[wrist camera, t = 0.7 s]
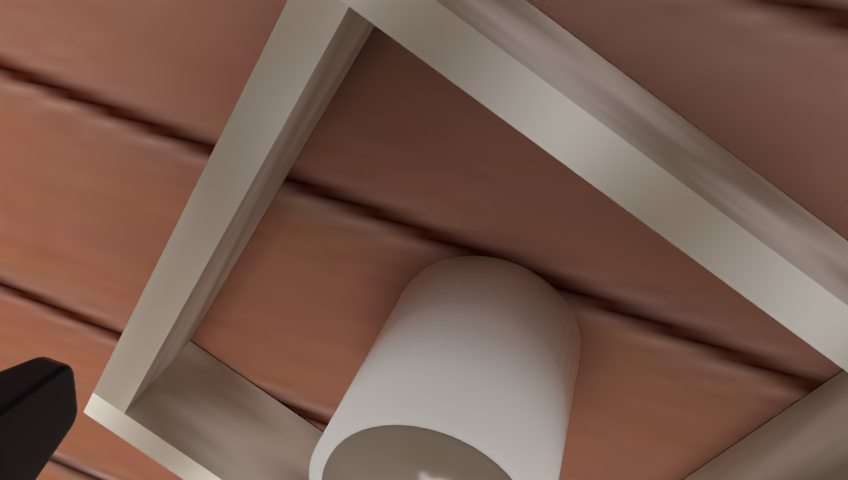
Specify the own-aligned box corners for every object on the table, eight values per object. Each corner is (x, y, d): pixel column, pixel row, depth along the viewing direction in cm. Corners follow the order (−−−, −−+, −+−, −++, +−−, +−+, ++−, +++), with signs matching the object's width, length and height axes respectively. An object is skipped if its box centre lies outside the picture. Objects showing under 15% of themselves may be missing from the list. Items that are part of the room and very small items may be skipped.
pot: (622, 335, 22) (603, 526, 16) (507, 438, 26) (456, 628, 20) (460, 218, 22) (380, 370, 16) (364, 338, 25) (269, 501, 19)
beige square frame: (971, 334, 19) (1033, 443, 16) (542, 608, 30) (526, 710, 26) (391, -102, 18) (327, -80, 15) (152, 341, 28) (83, 412, 25)
